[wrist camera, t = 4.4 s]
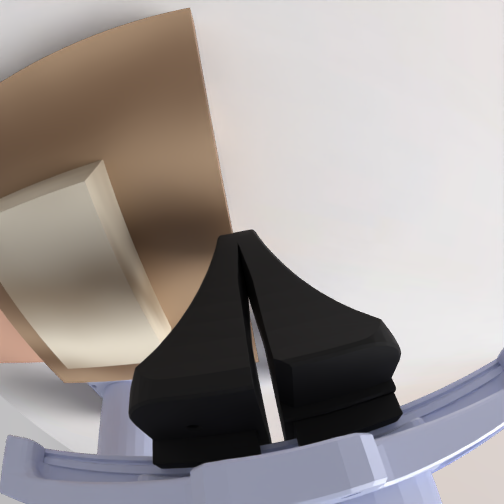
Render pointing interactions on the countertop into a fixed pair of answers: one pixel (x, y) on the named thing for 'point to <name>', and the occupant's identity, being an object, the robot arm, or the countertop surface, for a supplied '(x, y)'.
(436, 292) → the countertop surface
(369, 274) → the countertop surface
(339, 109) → the countertop surface
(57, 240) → the cream rectangular block
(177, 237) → the block
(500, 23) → the countertop surface
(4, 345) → the mat
